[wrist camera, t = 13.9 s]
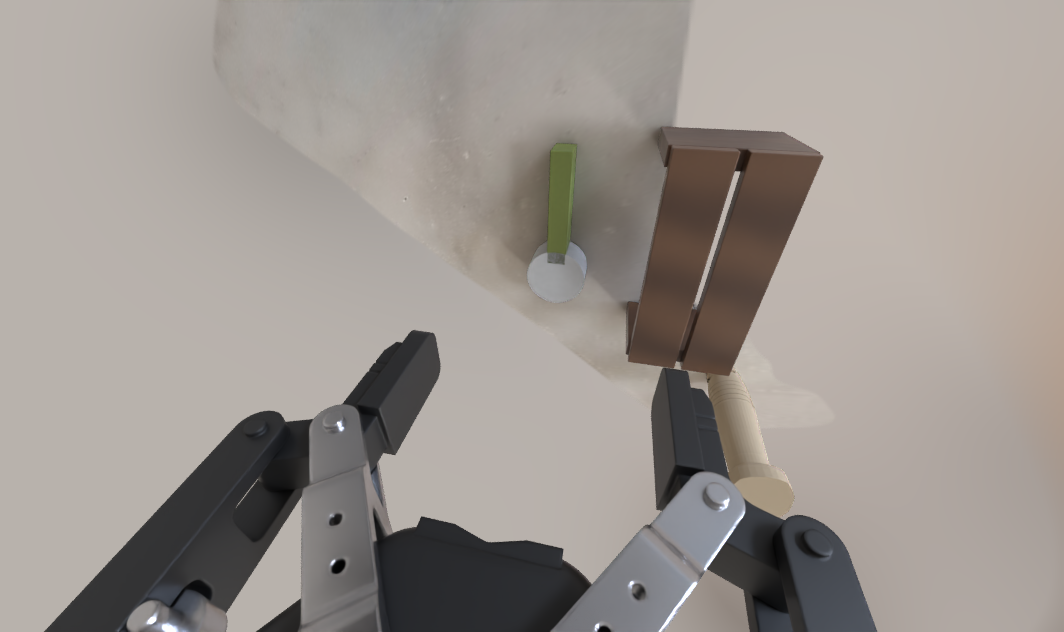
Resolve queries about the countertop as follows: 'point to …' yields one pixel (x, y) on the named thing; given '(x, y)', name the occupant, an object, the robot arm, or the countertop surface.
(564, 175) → the green handled white cylinder
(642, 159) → the countertop surface
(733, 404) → the handle
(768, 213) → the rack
